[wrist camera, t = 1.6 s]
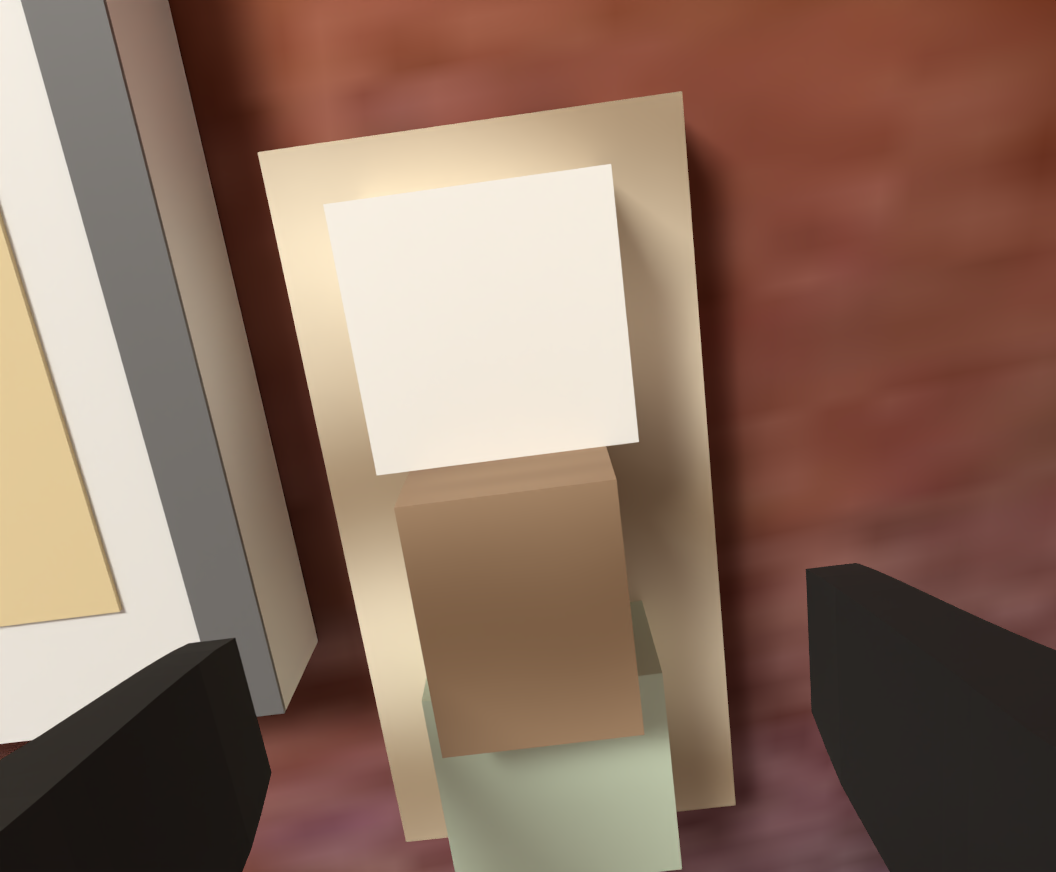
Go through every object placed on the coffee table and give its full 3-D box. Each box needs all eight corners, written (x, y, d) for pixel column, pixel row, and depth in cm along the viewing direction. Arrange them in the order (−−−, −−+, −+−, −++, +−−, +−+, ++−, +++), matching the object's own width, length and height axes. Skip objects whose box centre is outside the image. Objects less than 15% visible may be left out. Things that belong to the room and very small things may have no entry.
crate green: (660, 773, 17) (681, 869, 15) (468, 795, 17) (459, 893, 15) (641, 600, 16) (662, 672, 13) (437, 625, 16) (421, 701, 14)
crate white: (620, 401, 15) (639, 441, 12) (401, 429, 15) (376, 476, 12) (596, 168, 14) (611, 163, 11) (358, 202, 14) (323, 204, 11)
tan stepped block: (714, 743, 19) (795, 981, 13) (418, 777, 19) (371, 1024, 14) (662, 104, 15) (745, 49, 9) (291, 157, 15) (151, 136, 10)
